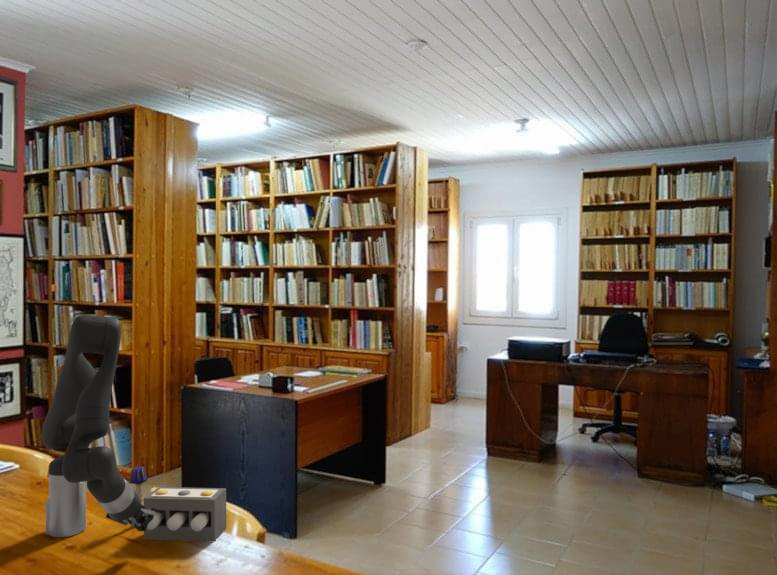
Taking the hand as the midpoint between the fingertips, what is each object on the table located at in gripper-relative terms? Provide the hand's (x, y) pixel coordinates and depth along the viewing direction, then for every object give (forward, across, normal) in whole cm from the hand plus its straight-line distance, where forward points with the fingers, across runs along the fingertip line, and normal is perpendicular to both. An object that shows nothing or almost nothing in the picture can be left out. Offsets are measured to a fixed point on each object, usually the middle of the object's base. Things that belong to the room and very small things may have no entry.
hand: (143, 527), depth 155 cm
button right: (+6, -13, -3) cm, 15 cm away
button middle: (+6, -6, -3) cm, 10 cm away
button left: (+6, 0, -3) cm, 7 cm away
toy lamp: (+17, +10, -8) cm, 21 cm away
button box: (+13, -6, -4) cm, 15 cm away
